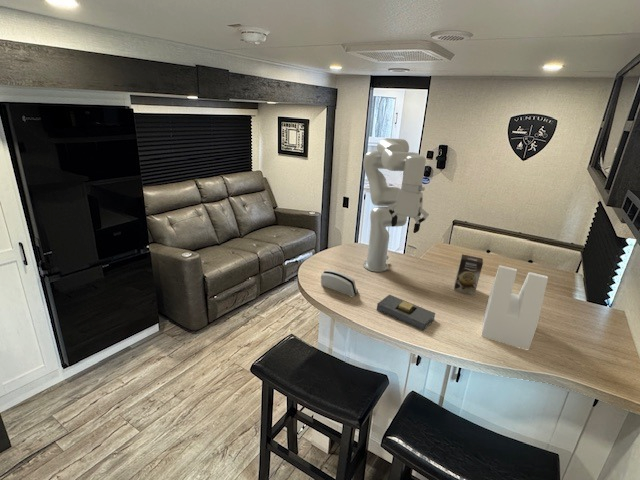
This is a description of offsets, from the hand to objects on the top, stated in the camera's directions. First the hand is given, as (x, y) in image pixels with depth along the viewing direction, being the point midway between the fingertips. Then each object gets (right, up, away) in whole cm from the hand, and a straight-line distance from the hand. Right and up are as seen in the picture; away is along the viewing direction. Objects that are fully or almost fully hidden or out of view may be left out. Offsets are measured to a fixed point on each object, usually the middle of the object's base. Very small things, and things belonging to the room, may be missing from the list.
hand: (404, 229), depth 143 cm
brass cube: (-1, -34, -4) cm, 34 cm away
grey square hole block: (-1, -34, -4) cm, 34 cm away
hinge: (-27, -27, +11) cm, 39 cm away
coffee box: (+32, -28, +19) cm, 46 cm away
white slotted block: (+36, -39, -9) cm, 54 cm away
